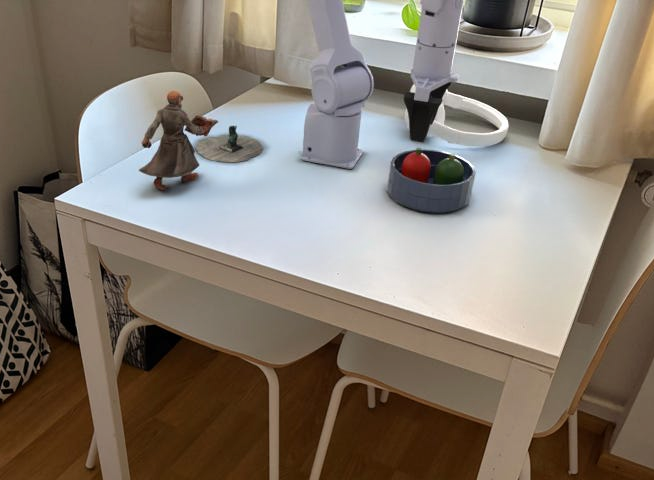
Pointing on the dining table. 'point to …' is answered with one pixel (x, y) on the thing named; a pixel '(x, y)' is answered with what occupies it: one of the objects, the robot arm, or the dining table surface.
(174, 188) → the dining table surface
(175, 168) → the figurine
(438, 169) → the green pepper
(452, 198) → the shallow round dish
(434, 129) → the headphones
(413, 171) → the red pepper
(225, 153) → the sculpture
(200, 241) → the dining table surface
